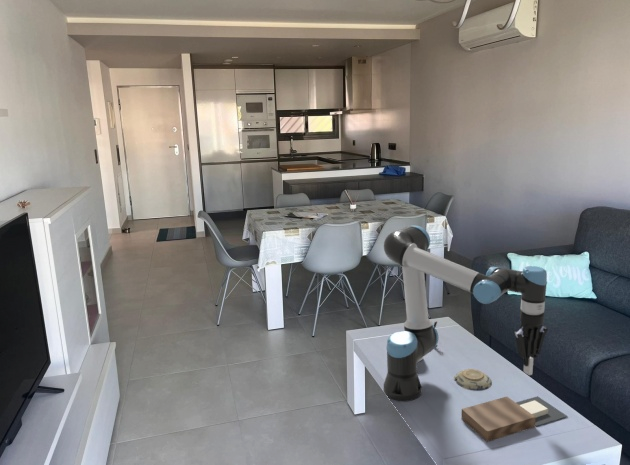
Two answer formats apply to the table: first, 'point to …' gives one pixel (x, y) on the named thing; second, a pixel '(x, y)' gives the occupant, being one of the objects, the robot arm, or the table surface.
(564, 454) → the table surface
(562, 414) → the mat
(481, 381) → the decorative bowl
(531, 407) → the tile
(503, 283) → the robot arm
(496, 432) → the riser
